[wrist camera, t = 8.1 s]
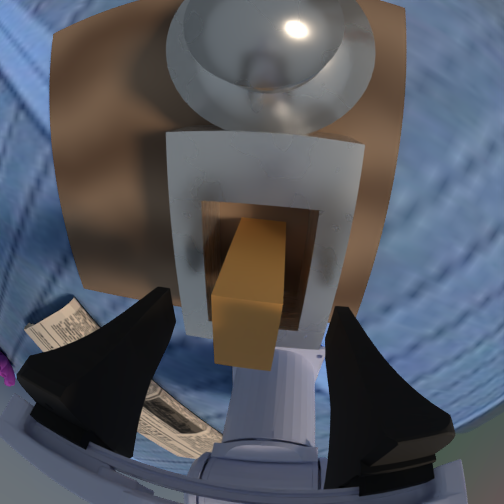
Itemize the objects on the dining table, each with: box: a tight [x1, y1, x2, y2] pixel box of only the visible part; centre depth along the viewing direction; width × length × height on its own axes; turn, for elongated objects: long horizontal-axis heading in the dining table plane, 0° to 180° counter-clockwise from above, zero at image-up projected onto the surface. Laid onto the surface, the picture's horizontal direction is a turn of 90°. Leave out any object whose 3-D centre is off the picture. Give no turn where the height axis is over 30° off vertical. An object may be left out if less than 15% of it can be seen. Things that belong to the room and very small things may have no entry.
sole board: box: [50, 0, 406, 323], centre depth 15 cm, size 21×22×2 cm
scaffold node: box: [166, 0, 376, 350], centre depth 11 cm, size 20×9×6 cm, turn 178°
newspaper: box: [24, 297, 223, 459], centre depth 33 cm, size 37×19×3 cm, turn 28°
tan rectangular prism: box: [211, 217, 286, 371], centre depth 13 cm, size 4×2×7 cm, turn 177°
